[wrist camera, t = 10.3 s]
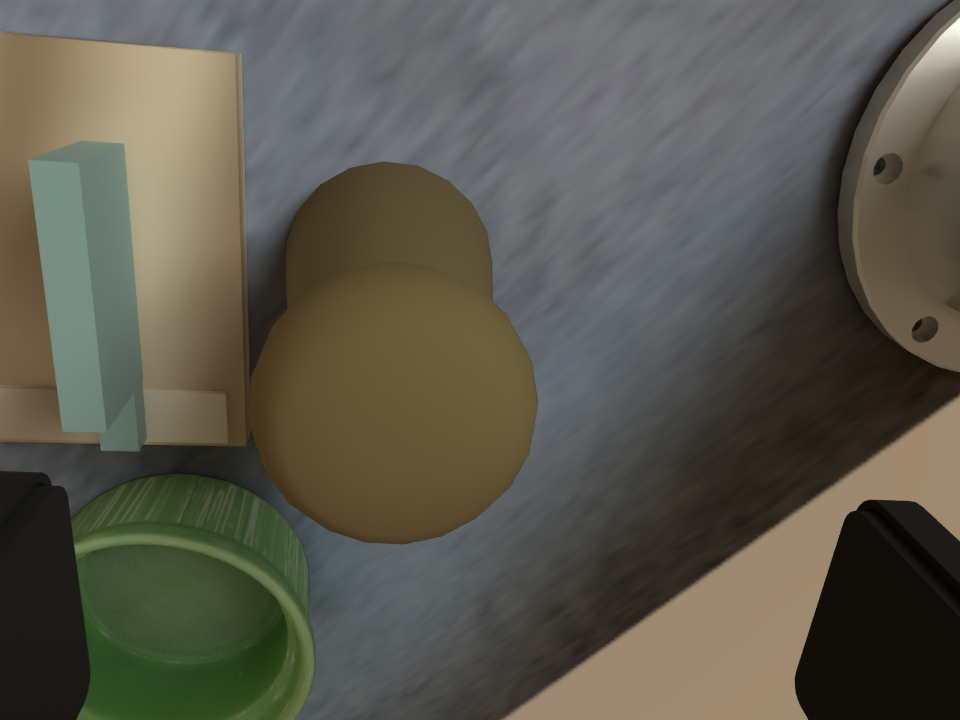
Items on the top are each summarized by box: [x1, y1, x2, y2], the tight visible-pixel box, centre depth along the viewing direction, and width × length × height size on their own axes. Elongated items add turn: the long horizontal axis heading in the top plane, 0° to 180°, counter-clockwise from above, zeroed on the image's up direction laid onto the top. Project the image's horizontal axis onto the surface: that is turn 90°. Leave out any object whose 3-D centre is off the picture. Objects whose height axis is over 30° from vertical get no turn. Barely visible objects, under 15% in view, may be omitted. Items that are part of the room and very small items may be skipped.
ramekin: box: [71, 474, 315, 720], centre depth 24 cm, size 9×9×4 cm
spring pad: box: [28, 141, 147, 451], centre depth 19 cm, size 1×8×3 cm, turn 175°
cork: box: [249, 162, 538, 544], centre depth 18 cm, size 6×6×11 cm
